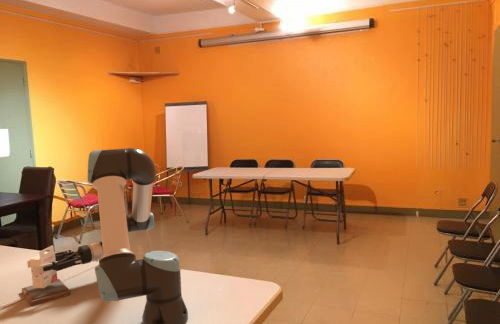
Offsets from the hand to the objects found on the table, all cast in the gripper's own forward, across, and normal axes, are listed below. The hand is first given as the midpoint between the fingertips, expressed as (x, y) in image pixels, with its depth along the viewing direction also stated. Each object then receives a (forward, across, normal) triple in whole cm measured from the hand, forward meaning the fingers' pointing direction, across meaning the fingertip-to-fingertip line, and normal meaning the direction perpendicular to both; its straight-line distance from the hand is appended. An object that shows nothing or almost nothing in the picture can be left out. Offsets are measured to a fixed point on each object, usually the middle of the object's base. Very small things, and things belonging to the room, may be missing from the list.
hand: (30, 267), depth 161 cm
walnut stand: (-5, 0, -12) cm, 13 cm away
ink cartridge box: (-5, 0, -8) cm, 9 cm away
